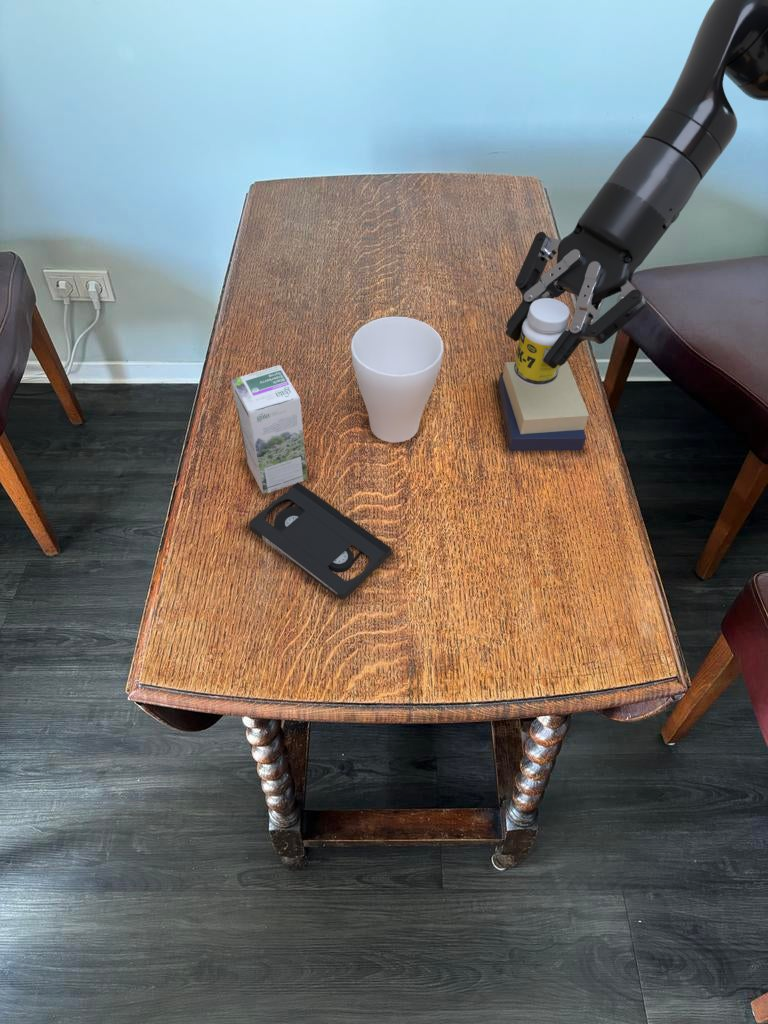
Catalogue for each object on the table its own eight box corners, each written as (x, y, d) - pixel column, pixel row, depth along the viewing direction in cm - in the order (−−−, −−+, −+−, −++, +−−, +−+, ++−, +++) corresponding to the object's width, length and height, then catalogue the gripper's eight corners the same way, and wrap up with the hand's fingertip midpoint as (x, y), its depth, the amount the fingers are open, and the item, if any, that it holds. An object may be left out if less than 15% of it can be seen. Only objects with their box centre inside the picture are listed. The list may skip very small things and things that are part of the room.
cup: (350, 402, 95) (348, 317, 84) (429, 398, 96) (437, 313, 85) (355, 462, 88) (353, 378, 78) (440, 457, 89) (450, 373, 78)
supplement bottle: (505, 365, 79) (517, 300, 73) (543, 355, 81) (558, 290, 74) (526, 393, 77) (540, 328, 70) (565, 382, 78) (582, 318, 71)
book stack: (580, 454, 90) (591, 423, 85) (508, 455, 90) (515, 423, 85) (563, 388, 97) (572, 356, 93) (497, 389, 97) (503, 357, 93)
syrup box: (291, 451, 89) (279, 360, 78) (309, 484, 86) (300, 394, 75) (247, 466, 88) (228, 375, 76) (264, 500, 85) (247, 411, 73)
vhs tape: (249, 533, 82) (247, 523, 80) (299, 493, 85) (297, 482, 84) (342, 605, 76) (342, 595, 74) (391, 558, 80) (391, 548, 78)
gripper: (570, 154, 70) (465, 305, 75) (692, 218, 63) (568, 379, 68) (593, 190, 76) (496, 327, 81) (706, 251, 70) (592, 397, 74)
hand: (529, 350), depth 75 cm, fingers closed on supplement bottle, 4 cm apart
